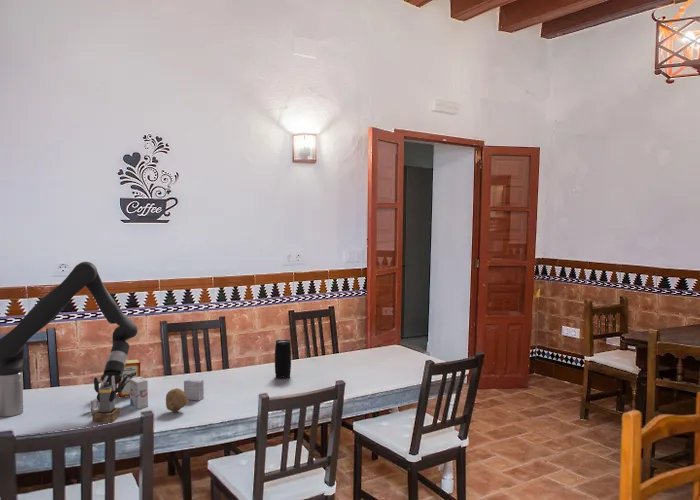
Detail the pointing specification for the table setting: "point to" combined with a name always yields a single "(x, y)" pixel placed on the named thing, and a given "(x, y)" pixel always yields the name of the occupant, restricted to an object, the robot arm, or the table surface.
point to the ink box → (139, 392)
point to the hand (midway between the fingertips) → (104, 400)
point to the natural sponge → (176, 400)
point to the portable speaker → (282, 358)
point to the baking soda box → (129, 375)
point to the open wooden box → (106, 416)
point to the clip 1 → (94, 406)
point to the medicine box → (194, 389)
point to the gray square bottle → (106, 398)
